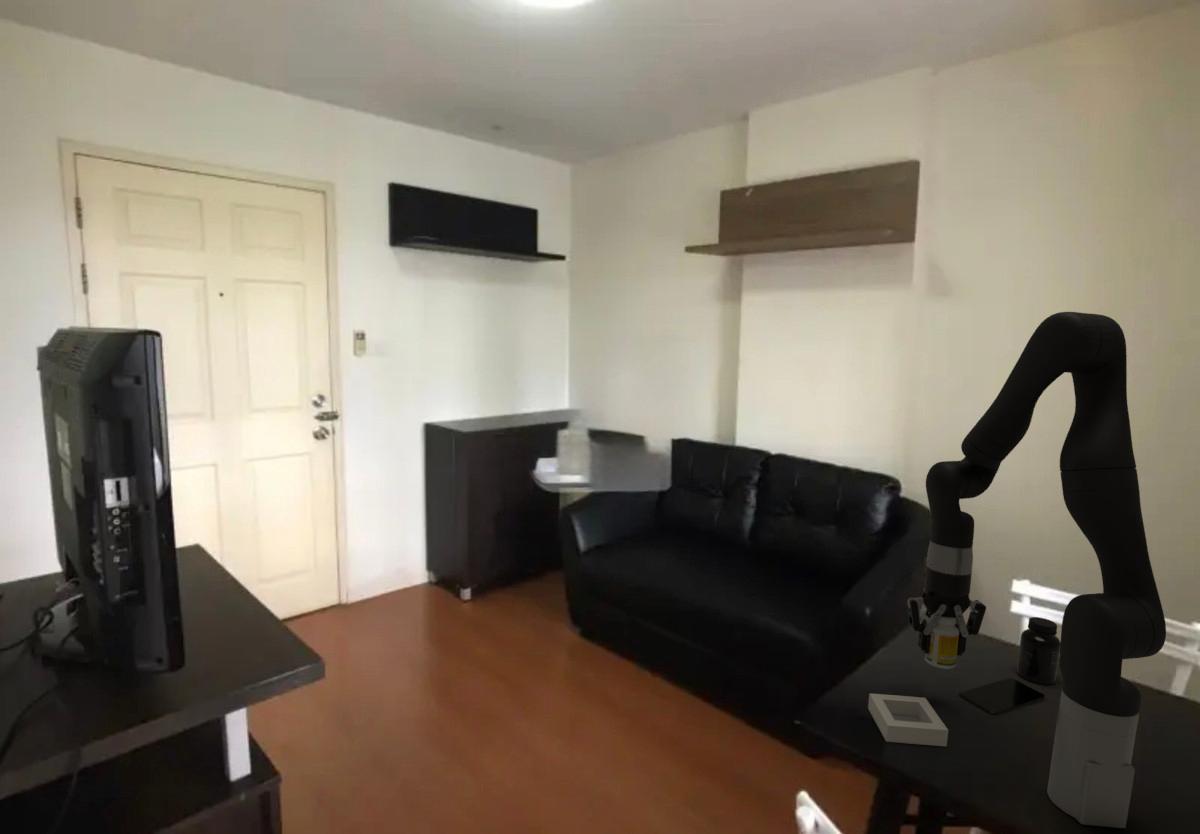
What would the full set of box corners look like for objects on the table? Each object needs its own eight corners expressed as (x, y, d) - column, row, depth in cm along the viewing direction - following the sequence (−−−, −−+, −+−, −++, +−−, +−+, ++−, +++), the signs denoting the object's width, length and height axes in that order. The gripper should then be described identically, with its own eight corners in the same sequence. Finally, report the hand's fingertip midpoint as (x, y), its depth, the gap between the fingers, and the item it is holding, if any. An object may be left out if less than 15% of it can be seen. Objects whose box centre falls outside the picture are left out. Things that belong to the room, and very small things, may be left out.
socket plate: (946, 746, 114) (948, 730, 113) (886, 741, 114) (887, 725, 114) (923, 712, 124) (925, 697, 123) (868, 708, 124) (869, 693, 124)
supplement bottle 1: (919, 661, 127) (923, 613, 126) (932, 653, 130) (936, 606, 129) (948, 672, 123) (953, 622, 122) (961, 664, 126) (965, 615, 125)
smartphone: (993, 719, 123) (1048, 700, 130) (994, 714, 123) (1049, 696, 130) (955, 696, 130) (1009, 680, 137) (955, 692, 130) (1009, 676, 137)
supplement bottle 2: (1045, 670, 141) (1052, 616, 139) (1062, 687, 134) (1070, 631, 132) (1010, 666, 142) (1017, 613, 140) (1025, 683, 135) (1033, 627, 133)
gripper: (917, 571, 121) (909, 659, 123) (999, 575, 120) (990, 664, 122) (901, 558, 129) (894, 641, 130) (979, 561, 127) (970, 646, 129)
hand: (941, 652), depth 126 cm, fingers closed on supplement bottle 1, 5 cm apart
